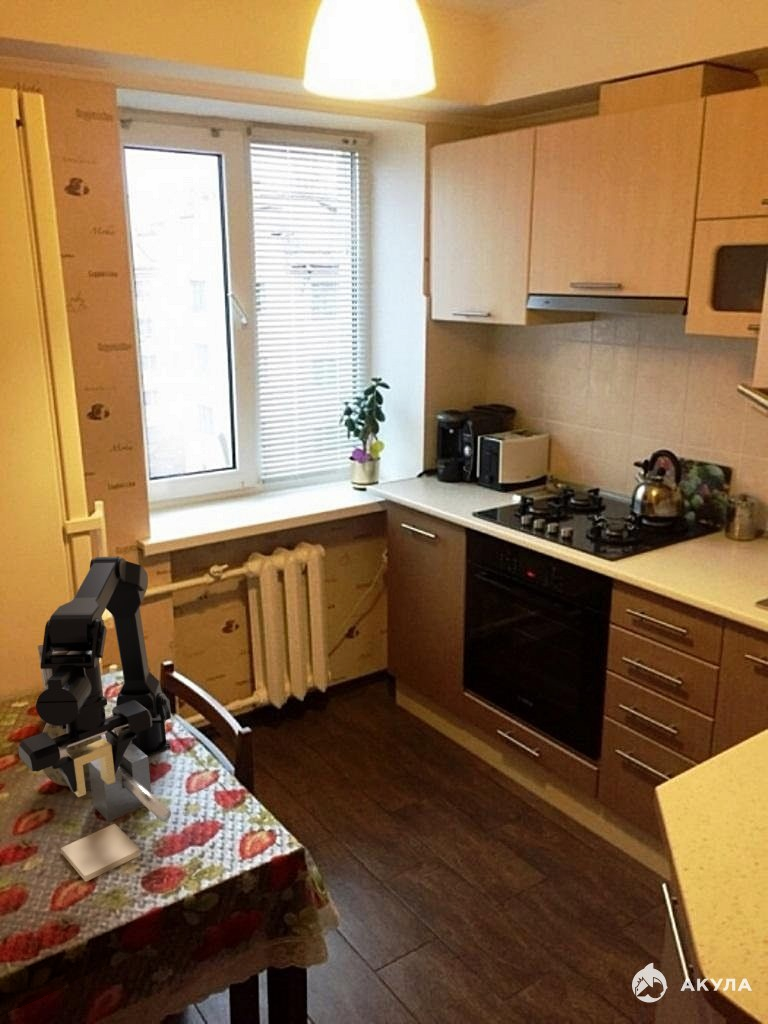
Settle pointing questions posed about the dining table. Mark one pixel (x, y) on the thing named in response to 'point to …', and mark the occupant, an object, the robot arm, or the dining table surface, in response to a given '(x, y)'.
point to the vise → (126, 788)
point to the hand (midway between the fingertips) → (93, 782)
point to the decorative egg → (57, 731)
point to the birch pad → (100, 852)
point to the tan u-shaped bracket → (89, 754)
